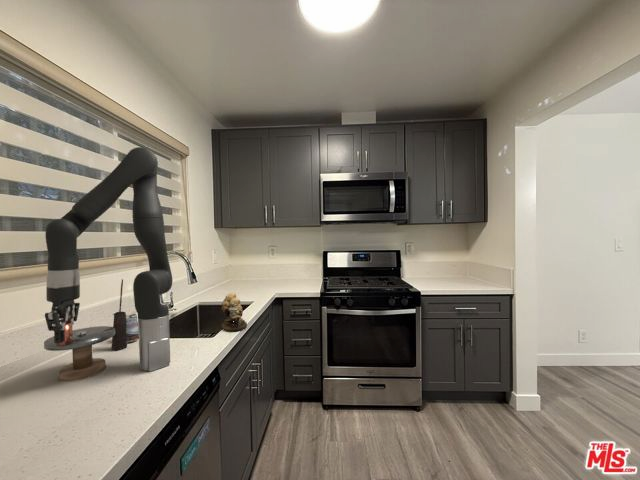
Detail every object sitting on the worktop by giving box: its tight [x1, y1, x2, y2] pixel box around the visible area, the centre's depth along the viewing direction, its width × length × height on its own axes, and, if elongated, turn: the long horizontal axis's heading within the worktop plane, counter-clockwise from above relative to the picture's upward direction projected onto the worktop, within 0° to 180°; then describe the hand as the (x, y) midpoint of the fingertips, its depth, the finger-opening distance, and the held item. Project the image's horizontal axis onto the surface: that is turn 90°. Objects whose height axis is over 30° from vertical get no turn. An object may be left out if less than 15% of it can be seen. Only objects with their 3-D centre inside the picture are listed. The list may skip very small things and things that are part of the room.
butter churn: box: [110, 279, 128, 352], centre depth 111 cm, size 9×10×28 cm
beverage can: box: [126, 312, 139, 343], centre depth 120 cm, size 6×7×12 cm
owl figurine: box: [221, 292, 248, 332], centre depth 136 cm, size 18×12×17 cm, turn 29°
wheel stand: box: [57, 345, 107, 382], centre depth 93 cm, size 12×12×11 cm
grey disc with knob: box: [43, 323, 115, 352], centre depth 92 cm, size 18×18×8 cm
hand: (63, 339), depth 85 cm, fingers closed on grey disc with knob, 3 cm apart
